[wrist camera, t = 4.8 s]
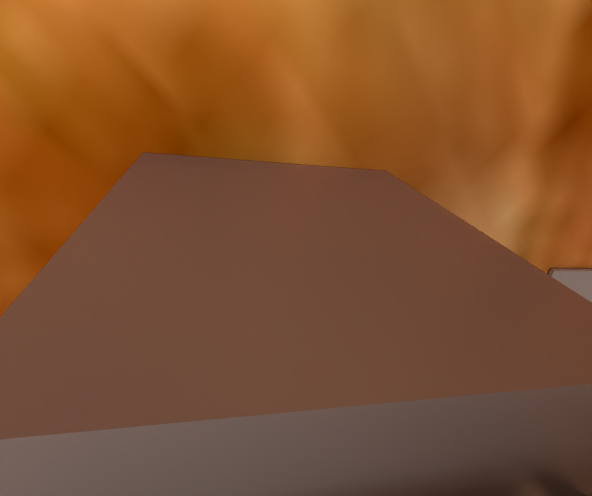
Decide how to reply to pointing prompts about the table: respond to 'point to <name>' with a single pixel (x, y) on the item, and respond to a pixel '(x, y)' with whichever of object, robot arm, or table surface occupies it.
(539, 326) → the grey block
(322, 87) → the table surface
